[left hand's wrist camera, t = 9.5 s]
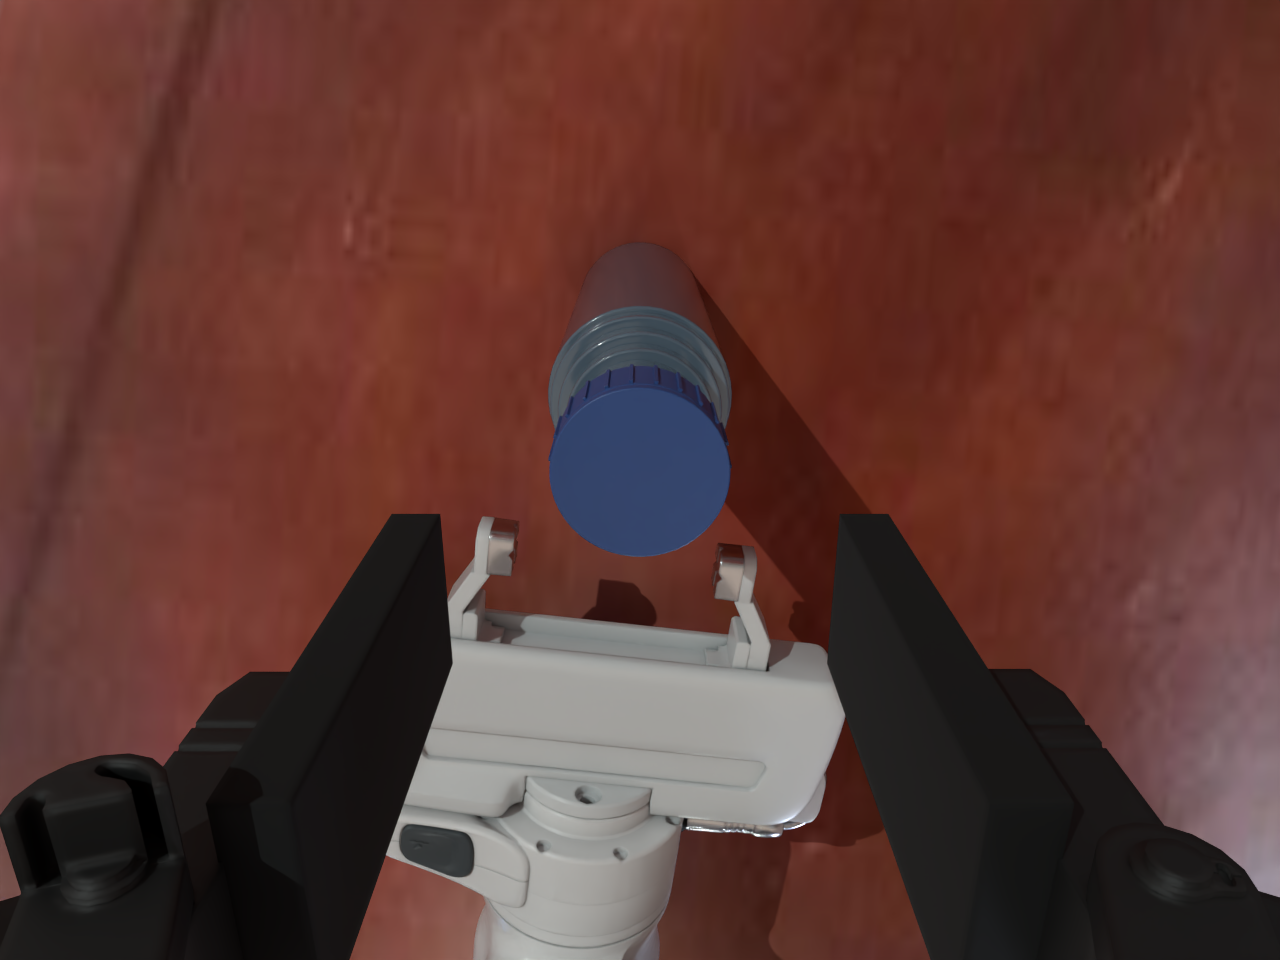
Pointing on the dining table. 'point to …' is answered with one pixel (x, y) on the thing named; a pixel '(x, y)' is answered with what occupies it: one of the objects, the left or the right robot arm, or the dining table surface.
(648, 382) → the cap
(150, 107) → the dining table surface
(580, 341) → the bottle
